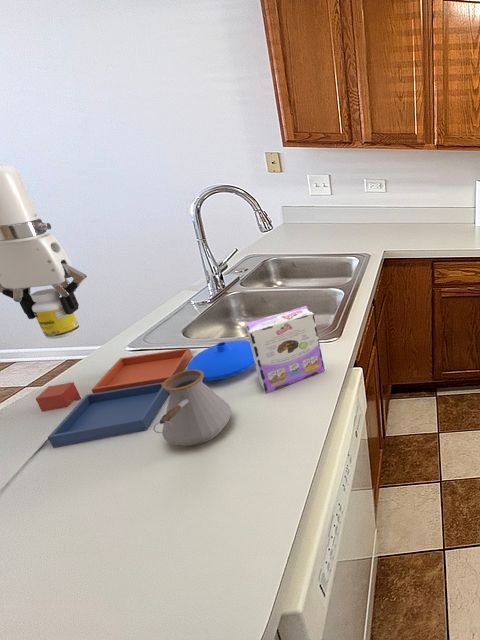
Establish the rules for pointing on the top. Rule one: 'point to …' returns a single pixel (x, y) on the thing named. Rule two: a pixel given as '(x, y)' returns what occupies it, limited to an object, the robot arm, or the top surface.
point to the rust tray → (143, 370)
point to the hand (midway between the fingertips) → (54, 313)
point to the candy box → (285, 348)
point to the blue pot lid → (223, 360)
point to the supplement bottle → (53, 314)
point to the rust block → (57, 396)
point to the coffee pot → (192, 410)
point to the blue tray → (110, 414)
